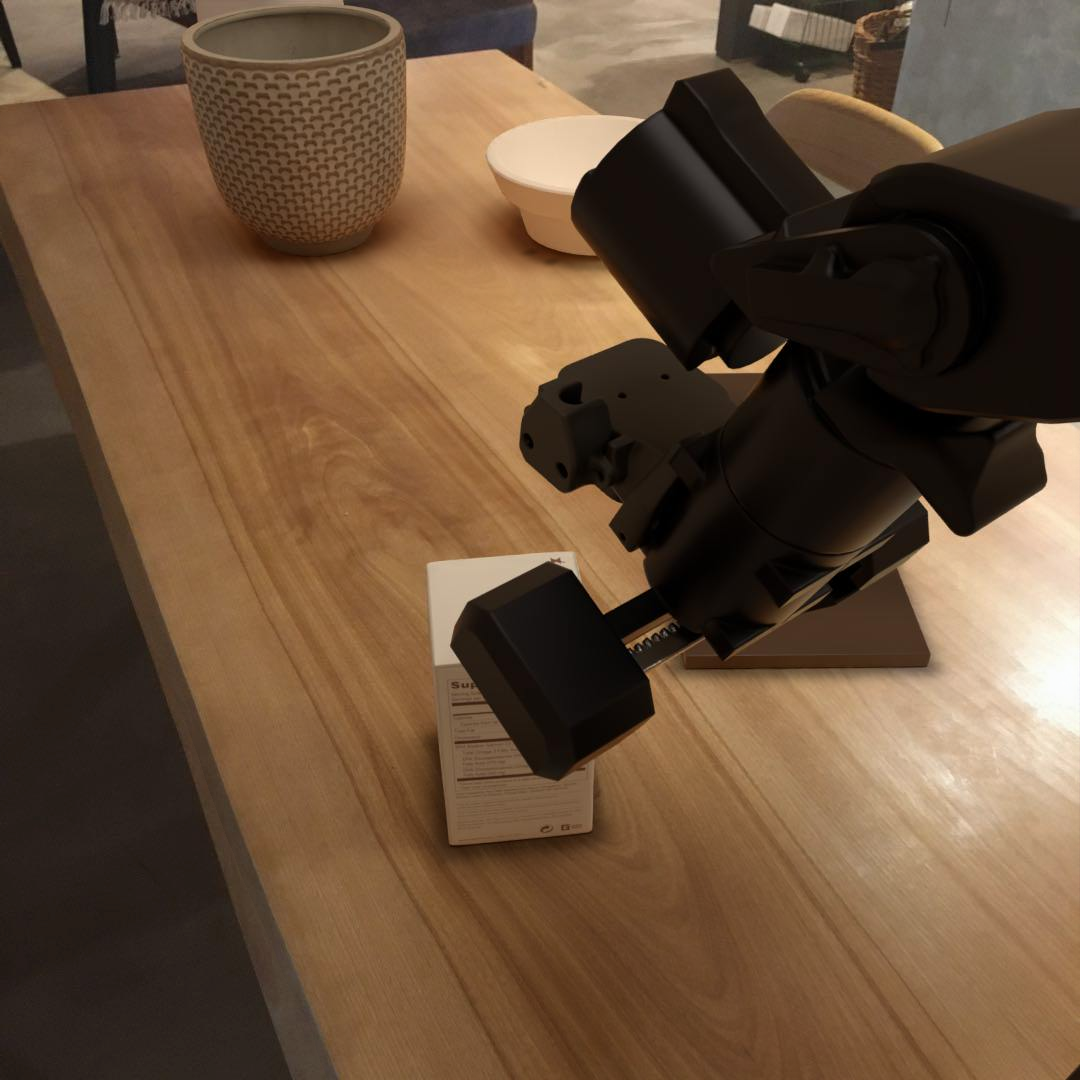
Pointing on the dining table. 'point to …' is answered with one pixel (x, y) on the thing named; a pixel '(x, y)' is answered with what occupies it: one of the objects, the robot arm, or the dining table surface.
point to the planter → (301, 119)
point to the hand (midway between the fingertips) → (626, 670)
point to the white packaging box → (491, 725)
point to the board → (829, 618)
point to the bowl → (553, 171)
